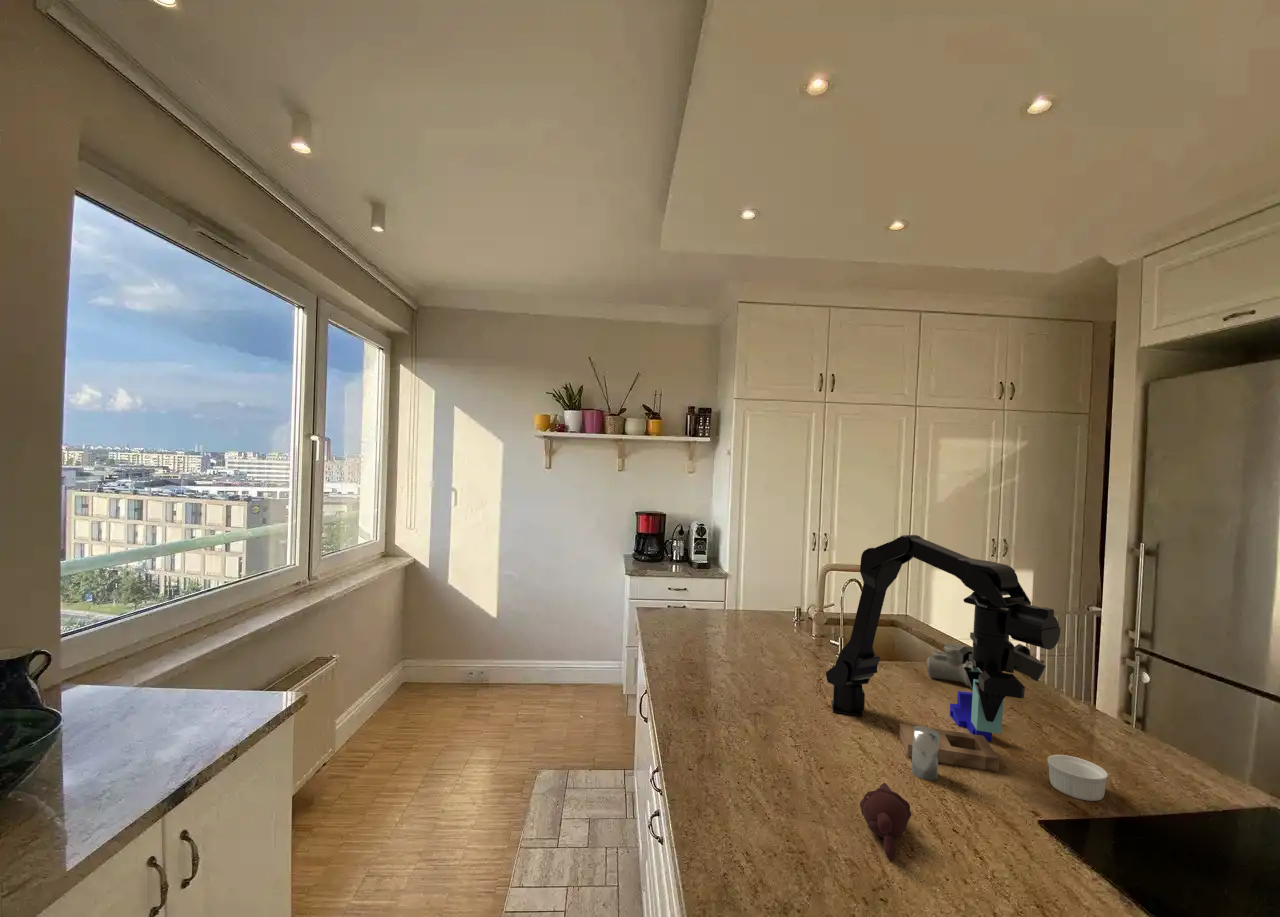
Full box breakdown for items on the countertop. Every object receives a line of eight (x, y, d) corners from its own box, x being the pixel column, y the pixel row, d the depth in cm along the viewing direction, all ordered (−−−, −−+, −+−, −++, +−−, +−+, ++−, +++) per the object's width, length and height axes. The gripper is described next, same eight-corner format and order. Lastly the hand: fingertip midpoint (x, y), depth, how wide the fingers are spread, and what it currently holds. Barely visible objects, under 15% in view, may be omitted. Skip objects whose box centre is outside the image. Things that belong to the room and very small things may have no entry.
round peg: (913, 777, 110) (915, 734, 110) (909, 766, 114) (911, 724, 114) (939, 782, 108) (941, 738, 109) (934, 770, 113) (936, 728, 113)
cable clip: (949, 716, 139) (950, 690, 139) (970, 718, 138) (971, 692, 138) (968, 739, 127) (969, 711, 127) (991, 742, 126) (992, 713, 126)
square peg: (976, 730, 109) (979, 686, 109) (970, 721, 113) (973, 679, 113) (1001, 734, 108) (1003, 690, 108) (994, 724, 112) (997, 682, 112)
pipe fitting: (980, 681, 161) (977, 643, 161) (976, 692, 155) (972, 653, 155) (932, 675, 169) (928, 639, 169) (926, 685, 162) (922, 648, 162)
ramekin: (1035, 781, 111) (1036, 758, 111) (1065, 773, 114) (1066, 751, 114) (1087, 808, 102) (1088, 782, 102) (1118, 798, 106) (1119, 774, 106)
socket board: (907, 757, 118) (907, 744, 118) (899, 735, 127) (899, 723, 127) (998, 771, 113) (998, 758, 113) (983, 747, 123) (983, 735, 123)
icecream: (856, 763, 101) (854, 819, 87) (903, 762, 98) (908, 820, 84) (866, 804, 101) (865, 866, 87) (913, 804, 98) (919, 868, 84)
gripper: (1062, 654, 99) (1056, 747, 99) (1022, 624, 117) (1018, 703, 117) (987, 645, 102) (982, 735, 102) (960, 617, 120) (955, 694, 120)
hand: (986, 716), depth 110 cm, fingers closed on square peg, 4 cm apart
